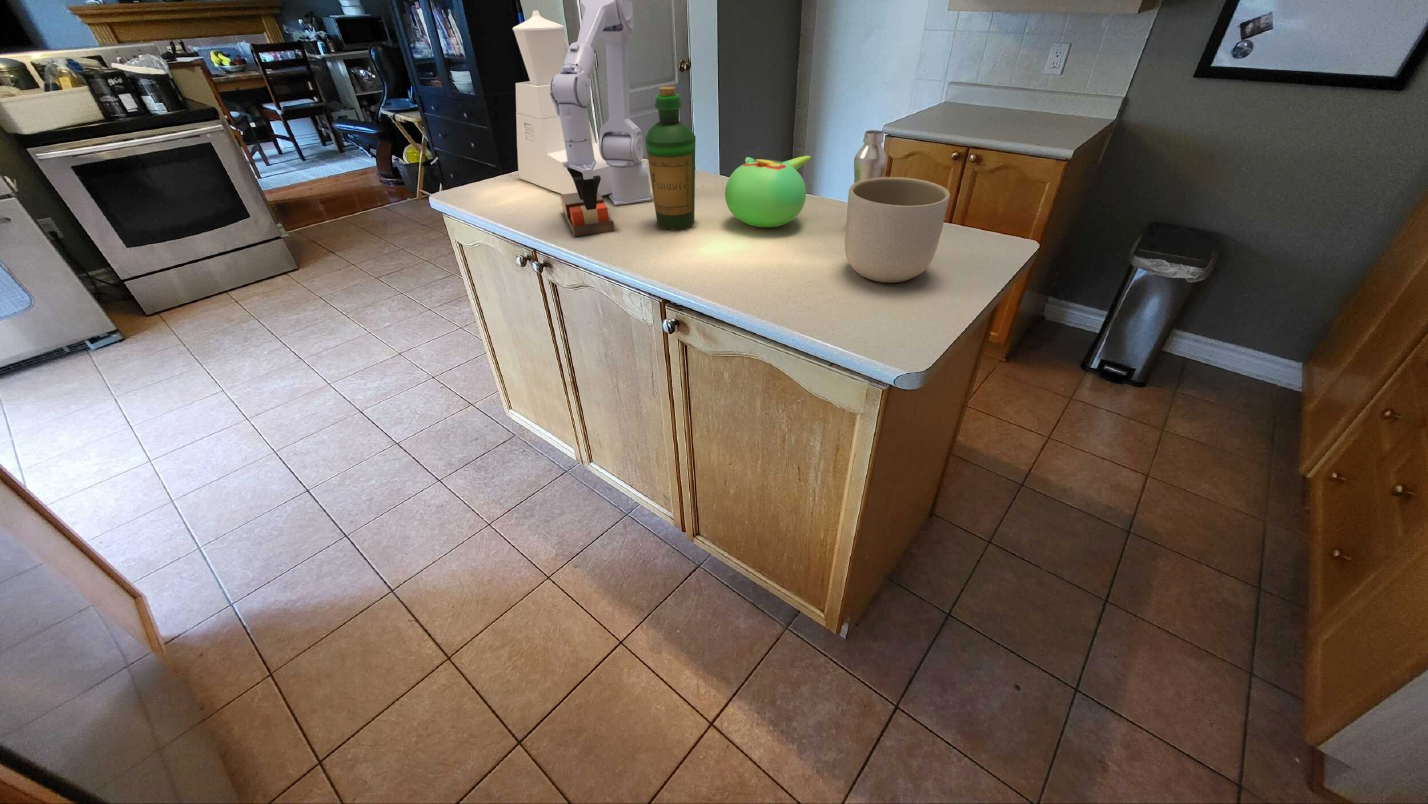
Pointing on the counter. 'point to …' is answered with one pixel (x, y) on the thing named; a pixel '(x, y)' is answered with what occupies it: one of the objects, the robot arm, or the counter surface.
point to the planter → (893, 227)
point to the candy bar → (589, 215)
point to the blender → (545, 111)
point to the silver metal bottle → (870, 157)
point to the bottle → (671, 164)
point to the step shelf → (586, 229)
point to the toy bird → (766, 191)
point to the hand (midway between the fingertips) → (588, 204)
